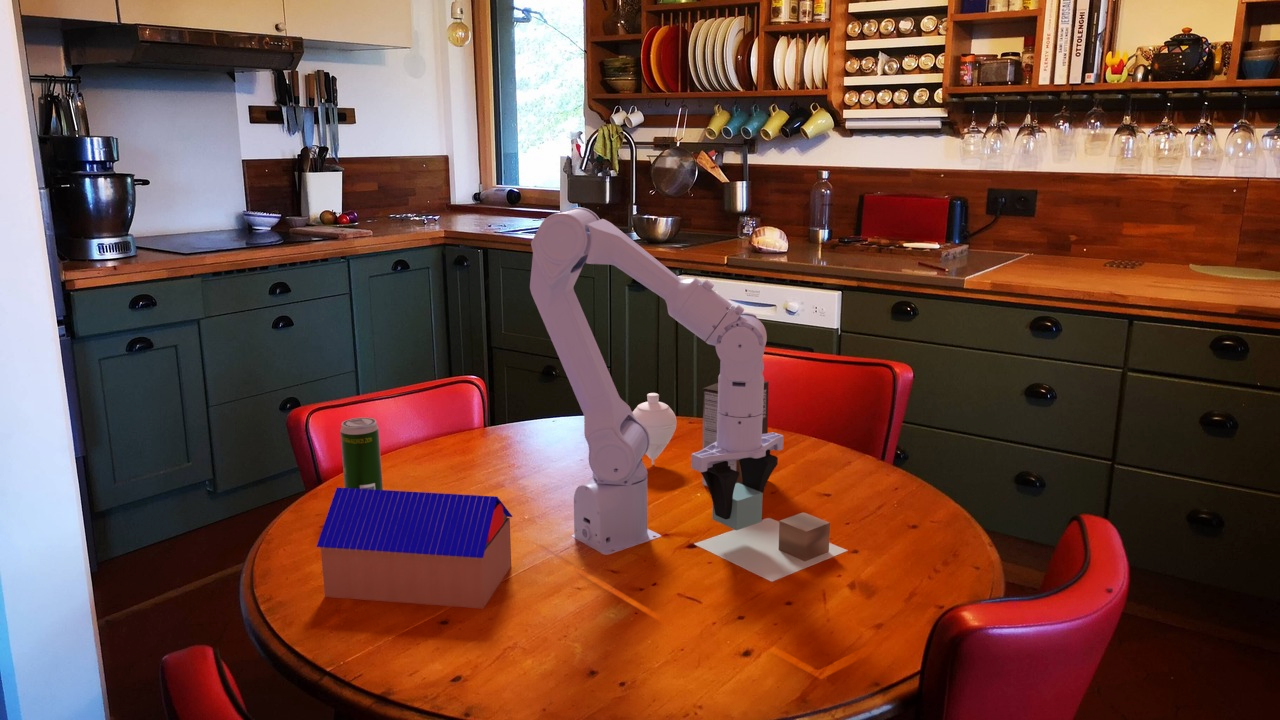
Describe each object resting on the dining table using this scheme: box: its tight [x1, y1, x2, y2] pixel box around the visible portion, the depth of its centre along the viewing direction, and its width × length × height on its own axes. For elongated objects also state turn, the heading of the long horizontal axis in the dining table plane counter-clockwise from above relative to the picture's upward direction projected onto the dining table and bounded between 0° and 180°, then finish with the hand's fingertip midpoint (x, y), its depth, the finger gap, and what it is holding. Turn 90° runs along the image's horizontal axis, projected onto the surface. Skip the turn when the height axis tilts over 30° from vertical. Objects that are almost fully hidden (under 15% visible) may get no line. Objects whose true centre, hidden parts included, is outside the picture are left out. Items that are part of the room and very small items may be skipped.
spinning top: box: [632, 392, 678, 466], centre depth 157 cm, size 8×8×12 cm
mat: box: [693, 517, 849, 583], centre depth 125 cm, size 14×14×1 cm
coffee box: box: [702, 380, 770, 487], centre depth 147 cm, size 9×6×16 cm
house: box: [316, 487, 514, 610], centre depth 116 cm, size 12×20×12 cm, turn 81°
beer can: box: [339, 417, 384, 490], centre depth 142 cm, size 5×5×12 cm
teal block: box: [711, 483, 764, 530], centre depth 125 cm, size 4×4×4 cm
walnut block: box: [778, 511, 831, 561], centre depth 123 cm, size 4×4×4 cm
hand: (736, 512), depth 125 cm, fingers closed on teal block, 4 cm apart
